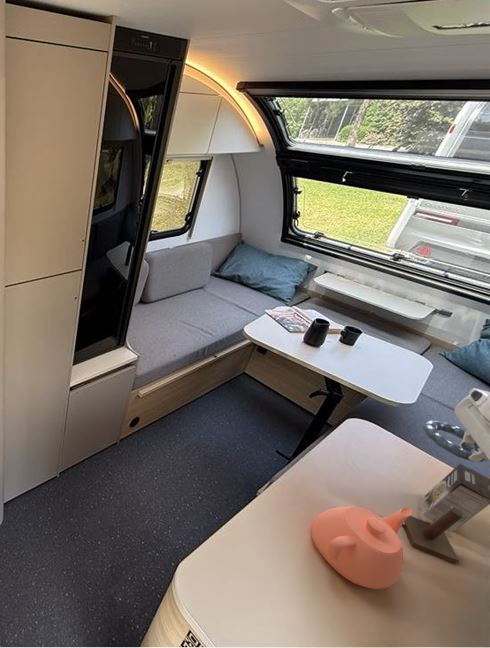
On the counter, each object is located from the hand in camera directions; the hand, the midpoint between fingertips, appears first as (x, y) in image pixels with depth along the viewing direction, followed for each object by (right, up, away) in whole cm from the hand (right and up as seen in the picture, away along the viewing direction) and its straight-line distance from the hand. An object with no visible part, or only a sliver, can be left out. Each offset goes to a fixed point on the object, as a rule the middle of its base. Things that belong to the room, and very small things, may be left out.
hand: (467, 453), depth 89 cm
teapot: (-30, -25, 0) cm, 39 cm away
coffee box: (+4, -22, +11) cm, 25 cm away
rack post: (-5, -25, +5) cm, 26 cm away
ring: (+2, +2, +4) cm, 5 cm away
